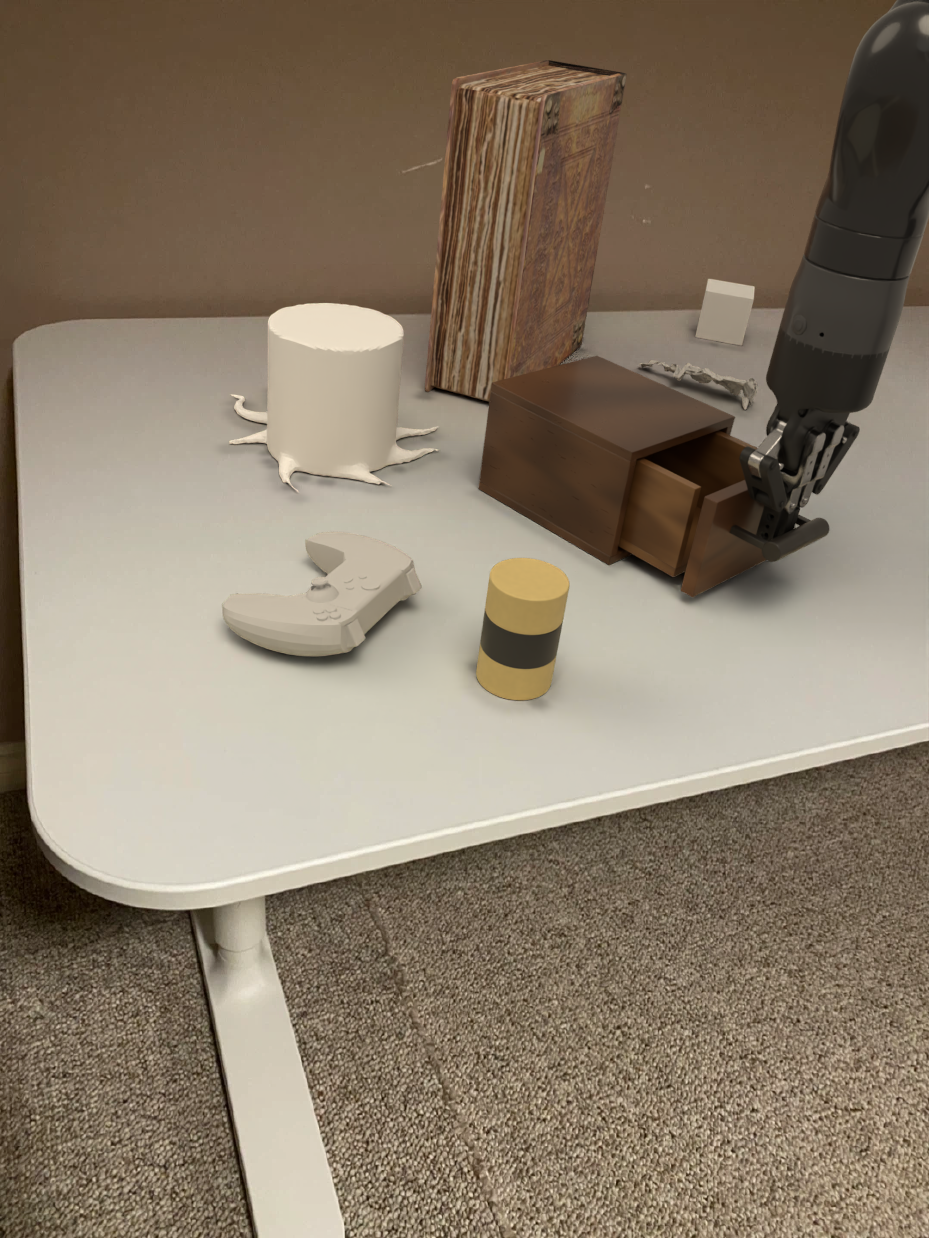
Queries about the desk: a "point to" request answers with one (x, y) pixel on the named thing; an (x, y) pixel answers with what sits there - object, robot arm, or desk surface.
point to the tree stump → (333, 392)
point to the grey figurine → (708, 376)
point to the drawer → (702, 515)
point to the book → (519, 220)
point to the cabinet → (583, 445)
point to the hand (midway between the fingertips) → (770, 546)
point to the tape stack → (521, 628)
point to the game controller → (328, 598)
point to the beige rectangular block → (725, 312)
